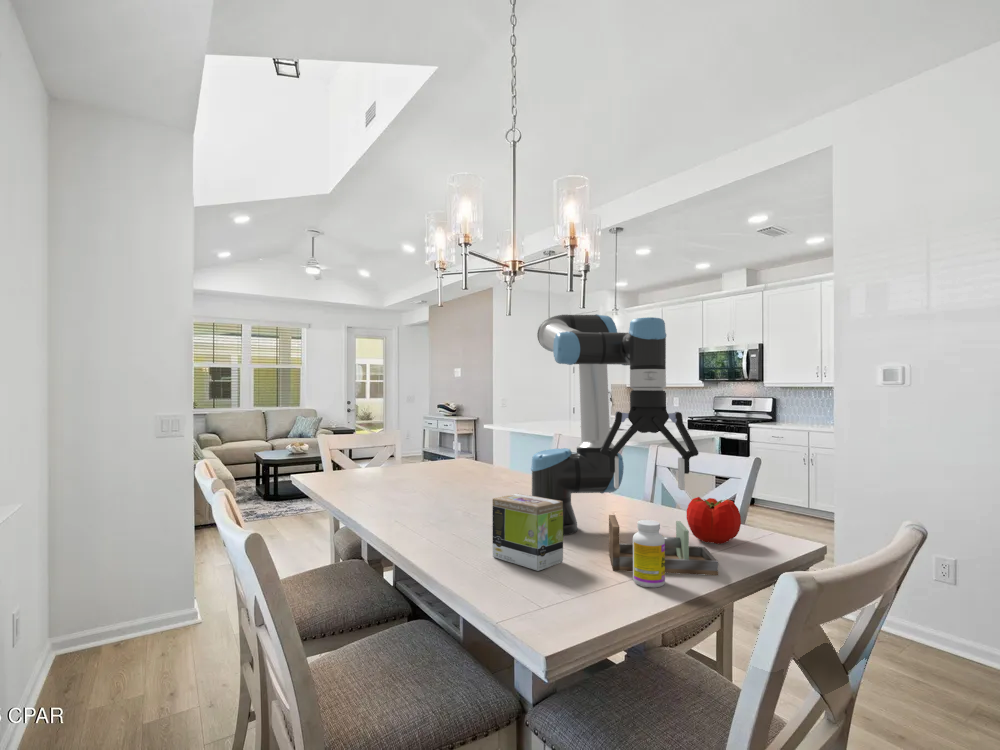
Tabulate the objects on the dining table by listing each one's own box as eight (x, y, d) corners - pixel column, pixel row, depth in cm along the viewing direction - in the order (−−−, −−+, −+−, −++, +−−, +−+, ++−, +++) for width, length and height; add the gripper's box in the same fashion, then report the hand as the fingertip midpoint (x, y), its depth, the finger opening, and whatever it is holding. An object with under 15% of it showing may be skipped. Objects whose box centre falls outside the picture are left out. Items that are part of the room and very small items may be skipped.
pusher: (666, 565, 118) (665, 530, 118) (659, 553, 127) (659, 520, 127) (689, 566, 117) (688, 530, 118) (680, 554, 126) (680, 521, 126)
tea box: (564, 562, 124) (564, 500, 125) (537, 572, 117) (537, 507, 117) (518, 548, 135) (518, 491, 135) (490, 557, 128) (490, 497, 128)
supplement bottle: (666, 589, 107) (666, 527, 107) (633, 587, 108) (633, 525, 109) (663, 578, 114) (662, 519, 114) (632, 576, 115) (631, 517, 115)
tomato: (747, 540, 142) (747, 497, 142) (726, 552, 132) (726, 506, 132) (700, 531, 151) (700, 490, 151) (677, 541, 141) (676, 498, 142)
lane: (612, 570, 118) (612, 526, 119) (609, 555, 129) (608, 514, 130) (718, 575, 115) (717, 530, 116) (705, 559, 126) (704, 517, 127)
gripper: (590, 389, 110) (590, 490, 109) (712, 389, 107) (714, 493, 106) (588, 389, 117) (589, 483, 117) (703, 389, 114) (704, 486, 114)
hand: (648, 488), depth 111 cm, fingers open, 13 cm apart
